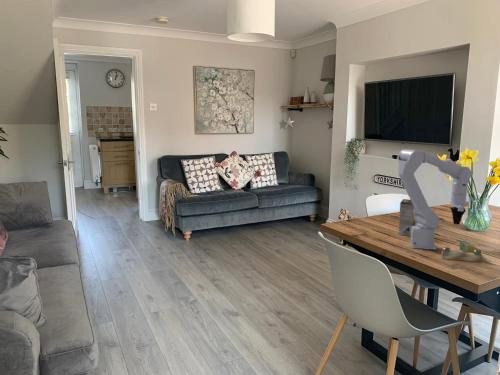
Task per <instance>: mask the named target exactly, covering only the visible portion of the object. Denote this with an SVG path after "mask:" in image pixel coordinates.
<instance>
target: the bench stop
mask: <svg viewBox="0 0 500 375" xmlns="http://www.w3.org/2000/svg"><path fill="white" fill-rule="evenodd" d="M441 258H442V259H444V260H445V259H446V260H458V261H466V262H467V261H469V262H480V263H482V262H483V255H482V253H481V255H475V254H474V253H467V252H462V251H452V250H450V252H449V253H446V252H443V249H442V250H441Z"/></svg>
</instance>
